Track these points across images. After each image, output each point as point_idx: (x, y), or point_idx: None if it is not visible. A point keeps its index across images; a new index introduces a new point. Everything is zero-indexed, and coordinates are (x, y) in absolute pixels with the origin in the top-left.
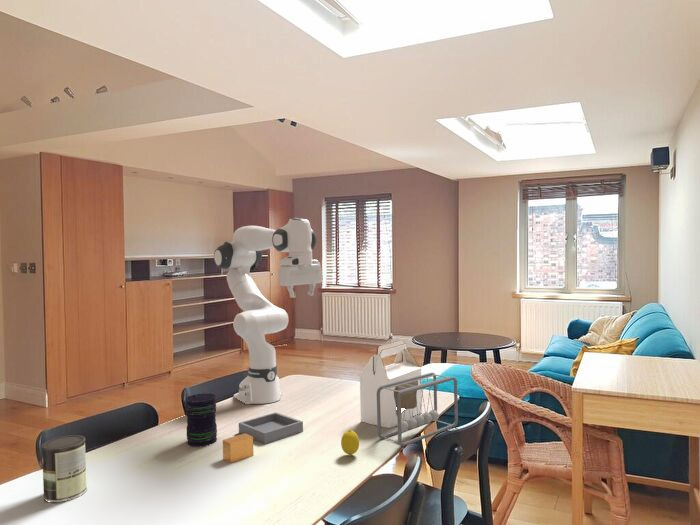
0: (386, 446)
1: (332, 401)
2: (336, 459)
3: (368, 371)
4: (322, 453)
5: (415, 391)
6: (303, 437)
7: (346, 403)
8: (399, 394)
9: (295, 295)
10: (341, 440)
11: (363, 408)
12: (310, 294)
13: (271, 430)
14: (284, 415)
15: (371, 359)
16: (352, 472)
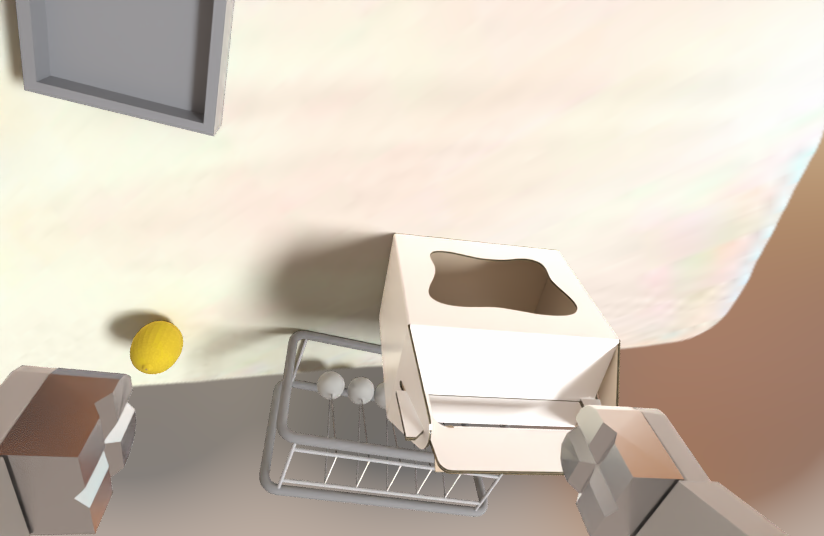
0: (267, 357)
1: (573, 20)
2: (126, 312)
3: (407, 368)
4: (129, 269)
5: (357, 471)
6: (181, 158)
7: (560, 91)
8: (263, 487)
9: (112, 471)
10: (135, 339)
11: (395, 266)
12: (568, 465)
13: (63, 92)
14: (221, 22)
15: (423, 409)
16: (100, 366)
